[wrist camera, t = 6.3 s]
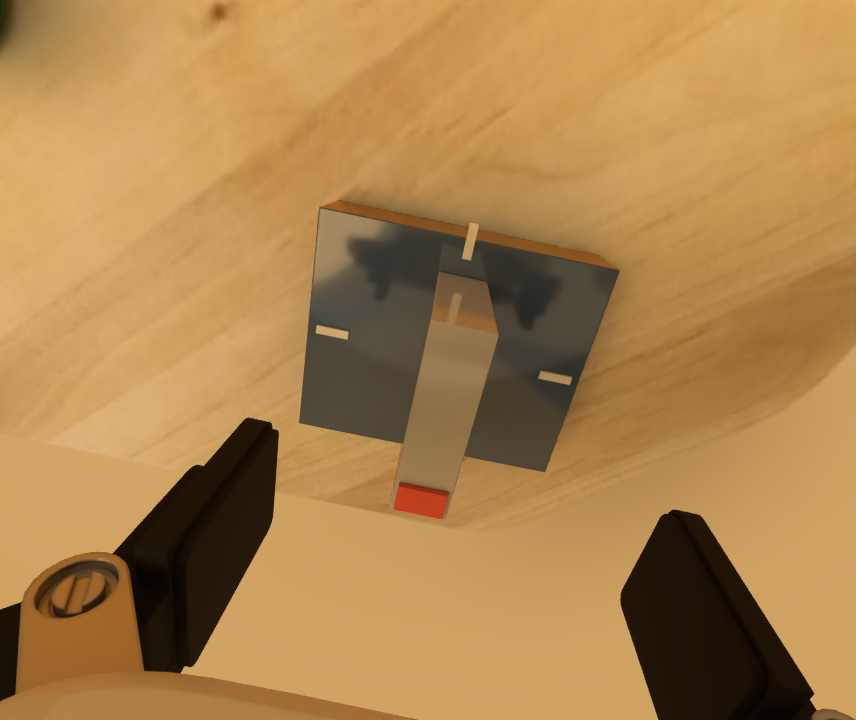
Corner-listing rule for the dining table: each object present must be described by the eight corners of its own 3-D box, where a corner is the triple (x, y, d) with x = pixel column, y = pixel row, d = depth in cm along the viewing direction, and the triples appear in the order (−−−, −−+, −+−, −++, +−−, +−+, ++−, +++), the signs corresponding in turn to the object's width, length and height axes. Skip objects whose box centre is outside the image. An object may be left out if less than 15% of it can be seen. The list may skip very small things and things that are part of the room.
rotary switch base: (604, 241, 21) (627, 255, 18) (532, 447, 25) (542, 484, 22) (339, 185, 20) (319, 191, 17) (315, 403, 25) (296, 435, 22)
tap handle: (438, 271, 19) (430, 322, 13) (487, 281, 19) (500, 337, 13) (406, 418, 21) (388, 513, 16) (449, 426, 21) (445, 525, 16)
